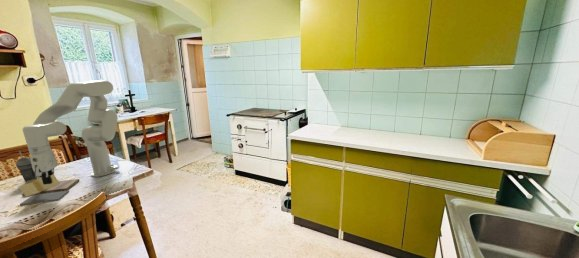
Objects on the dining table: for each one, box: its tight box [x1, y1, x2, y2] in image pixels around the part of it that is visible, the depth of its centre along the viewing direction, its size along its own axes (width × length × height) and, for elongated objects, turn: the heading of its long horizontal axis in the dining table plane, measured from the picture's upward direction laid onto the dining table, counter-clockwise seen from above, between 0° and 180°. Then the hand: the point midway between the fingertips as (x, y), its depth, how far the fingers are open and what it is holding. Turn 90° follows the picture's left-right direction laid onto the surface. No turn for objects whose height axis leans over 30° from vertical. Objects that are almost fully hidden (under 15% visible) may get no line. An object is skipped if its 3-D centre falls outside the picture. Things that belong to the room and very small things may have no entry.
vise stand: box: [21, 173, 80, 197], centre depth 132 cm, size 20×12×15 cm, turn 106°
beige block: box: [18, 173, 60, 198], centre depth 121 cm, size 13×6×6 cm, turn 105°
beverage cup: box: [15, 150, 37, 183], centre depth 140 cm, size 7×7×20 cm
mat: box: [19, 190, 70, 206], centre depth 123 cm, size 16×9×1 cm, turn 106°
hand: (49, 182), depth 121 cm, fingers closed on beige block
